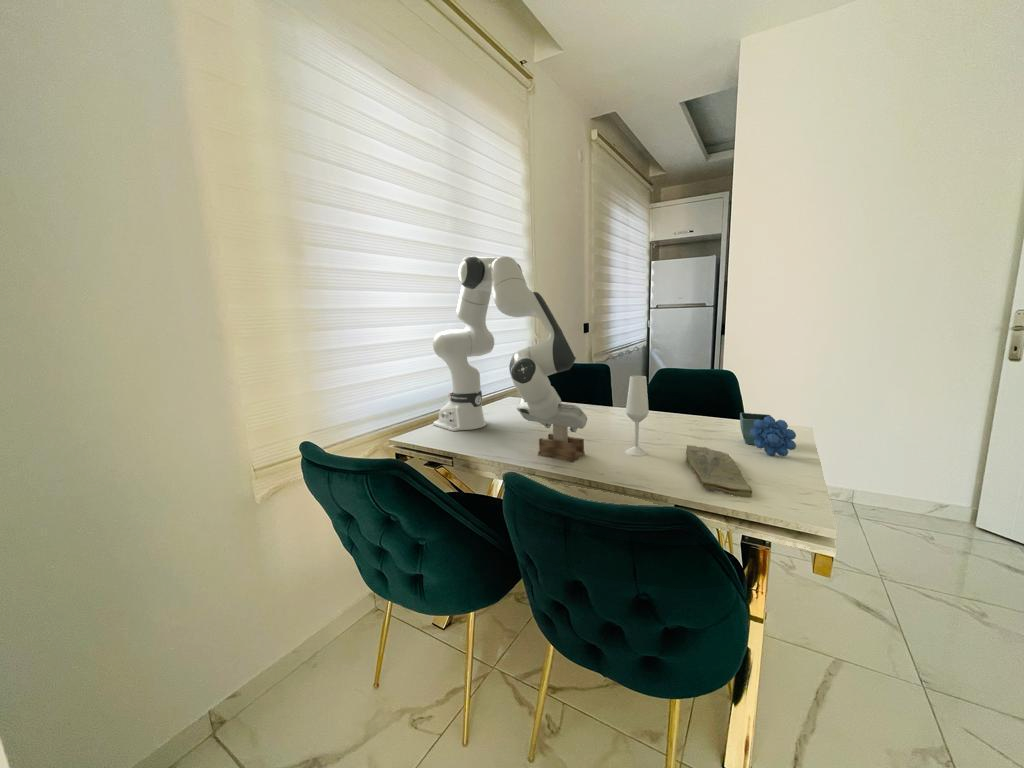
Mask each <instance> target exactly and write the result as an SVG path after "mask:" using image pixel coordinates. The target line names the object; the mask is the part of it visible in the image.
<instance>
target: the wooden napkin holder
mask: <svg viewBox="0 0 1024 768" xmlns="http://www.w3.org/2000/svg"><path fill="white" fill-rule="evenodd" d="M538 441H539V442H538V447H539V448H538V449H539V450H538V455H537V456H541V457H545V458H549V457H550V458H549V459H555V460H559V461H564V460H565V461H564V462H570V463H574V461H575V462H576V461H577V460H579V459H580V458H582V457H583V456H584V455H585V439H584V438H580V437H575V436H574V437H573V436H569V435H568V443H567V442H561V441H556V440H553V433H548V434H547V438H543V437H539V439H538Z"/></svg>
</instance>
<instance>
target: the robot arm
mask: <svg viewBox="0 0 1024 768" xmlns="http://www.w3.org/2000/svg"><path fill="white" fill-rule="evenodd" d="M458 278H459V279H458V280H459V282H460V284H461V288H460V294H459V297H458V298H459V299H458V302H457V307H456V315H457V318H458V320H460V322H462V323H464V324H465V327H464V329H461V328H460V329H447V330H444V331H440V332H437V333H436V334H435V336H434V338H433V341H432V346H433V351H434V353H435V355H437V357H439V358H441V359H442V361H444V362H445V363H446V365H447V366H448V369H449V370H450V375H451V381H452V392H451V393H449V392H448V397H450V399H449V401H448V402H447V403H446V404H445V405H444V406H443V407H442V408H440V409H439V412H438V419H437V420H434V421H433V423H432V424H433V426H435V427H439V428H442V429H445V430H449V431H453V432H456V431H464V430H465V431H467V430H468V431H469V430H477V429H481V428H483V427H485V426H486V425H487V422H486V420H485V417H484V411H483V406H482V402H483V393H482V392H483V391H482V390H481V374H480V371H479V370H478V369H477V368H476V367H474V366H473V365H471V364H469V361H468V358H469V357H481V356H485V355H488V354H490V353H492V351H493V349H494V347H495V338H494V336H493V334H492V332H491V331H490V330H489V328H487V327H488V326H487V319H486V318H487V313H488V308H489V304H490V299H491V295H492V298H493V300H494V304H495V306H496V308H497V310H498V311H500V313H502V314H503V315H505V316H508V317H512V318H513V317H514V318H522V317H532V318H533V317H535V318H537V319H539V320H540V322H541V324H542V326H543V327H544V329H545V331H546V332H547V335H548V337H547V339H545V340H543V341H541V342H538V343H535V344H534V345H533V344H532V345H531V346H527V347H524V348H523V349H520V350H518V351H516V352H514V353H513V354H512V356H511V359H510V362H509V367H508V368H509V375H510V377H511V379H512V383H513V385H514V386H515V389H516V390H517V392H518V394H519V395H520V400H519V401H518V404H517V407H516V410H517V411H518V412H519V413H520V416H521V417H522V418H523V419H524V420H526V421H528V422H533V423H539V424H540V425H542V426H544V428H546V429H551V427H552V426H553V425H560V426H567V427H569V430H570V432H571V433H577V431H578V429H581V430H582V429H584V428H585V427H586V425H587V422H588V416H587V415H586V413H585V411H583V409H581V407H579V406H578V405H575V404H569V403H562V399H561V397H560V395H559V394H558V392H557V391H556V389H555V387H554V386H552V385H551V384H552V383H551V381H550V378H549V377H548V376H551V375H554V374H557V373H561V372H565V371H569V370H570V369H571V368H572V367H573V365H574V364H575V361H576V359H577V356H576V350H575V348H574V346H573V344H572V343H571V341H570V340H569V339H568V337H567V336H566V335H565V334H564V332H563V330H562V329H561V328H562V327H561V326H560V325H559V323H558V321H557V319H556V318H555V315H554V314H553V312H552V311H551V309H550V307H549V305H548V304H547V303H546V301H545V299H544V297H543V296H542V295H541V294H540V293H539V292H537V291H532V290H531V289H529V287H528V284H527V281H526V278H525V276H524V274H523V270H522V267H521V266H520V264H519V263H518V262H517V261H516V260H515V259H514V258H512V257H510V256H500V257H493V256H492V257H489V256H487V257H486V256H476V255H471V256H470V255H469V256H465V257H464V258H463V259H462V260H461V261H460V263H459V268H458Z"/></svg>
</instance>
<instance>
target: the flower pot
mask: <svg viewBox="0 0 1024 768" xmlns="http://www.w3.org/2000/svg"><path fill="white" fill-rule="evenodd" d="M766 416H770V417H772V415H771V414H765V413H764V414H763V413H751V412H740V413H739V419H740V420H739V424H740V431H741V435H742V437H743V440H744V442H745V444H746V445H753V446H754V445H755V444H754V441H755V439H756V438H753V437H752V436H751V435H750V430H751V429H753V428H755V426H754V421H755V420H758V419H759V420H762V421H763V422H764V418H765V417H766Z"/></svg>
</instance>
